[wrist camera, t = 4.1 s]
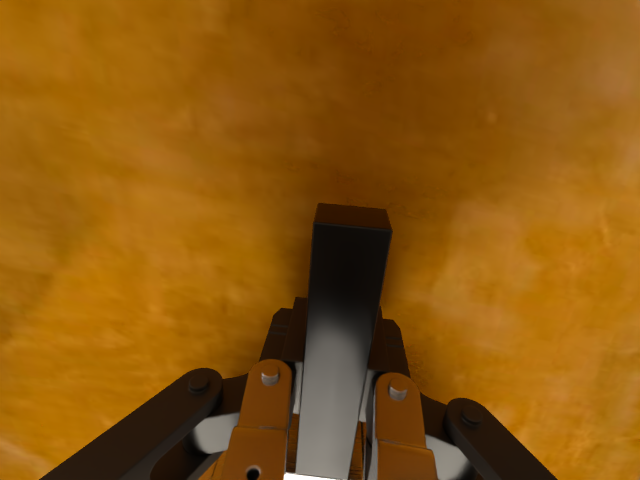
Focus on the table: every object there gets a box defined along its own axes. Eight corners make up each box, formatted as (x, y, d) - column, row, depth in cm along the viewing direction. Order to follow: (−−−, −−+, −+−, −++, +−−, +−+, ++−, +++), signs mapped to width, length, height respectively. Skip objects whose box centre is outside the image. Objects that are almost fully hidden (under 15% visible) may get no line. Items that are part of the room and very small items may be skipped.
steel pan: (408, 542, 21) (420, 640, 18) (214, 517, 22) (187, 608, 18) (522, 199, 12) (600, 250, 8) (185, 167, 13) (117, 203, 9)
